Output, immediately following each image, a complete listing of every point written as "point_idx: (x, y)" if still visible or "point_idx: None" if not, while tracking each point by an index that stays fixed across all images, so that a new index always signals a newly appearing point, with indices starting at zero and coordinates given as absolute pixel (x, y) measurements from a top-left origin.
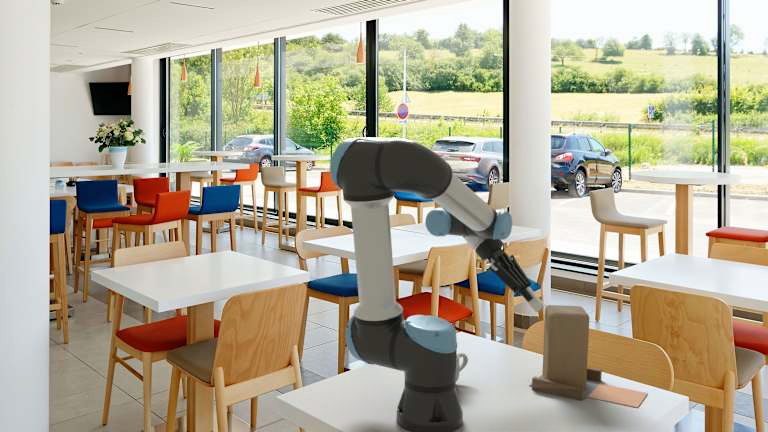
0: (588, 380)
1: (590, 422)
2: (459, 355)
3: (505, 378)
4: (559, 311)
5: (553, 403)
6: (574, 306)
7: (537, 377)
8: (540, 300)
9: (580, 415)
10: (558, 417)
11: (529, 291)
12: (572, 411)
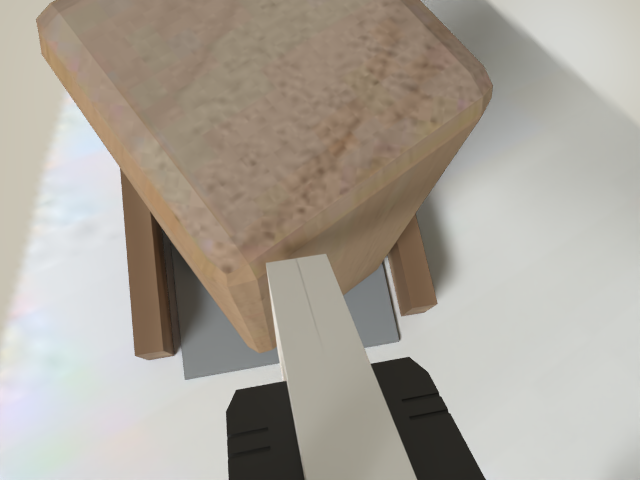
0: None
1: (515, 45)
2: None
3: None
4: (389, 55)
5: (477, 187)
6: (106, 38)
7: (412, 292)
8: (288, 302)
9: (493, 85)
10: (561, 125)
11: (393, 430)
12: (486, 114)
